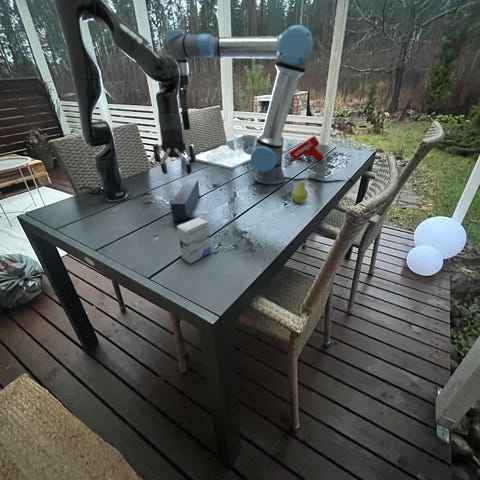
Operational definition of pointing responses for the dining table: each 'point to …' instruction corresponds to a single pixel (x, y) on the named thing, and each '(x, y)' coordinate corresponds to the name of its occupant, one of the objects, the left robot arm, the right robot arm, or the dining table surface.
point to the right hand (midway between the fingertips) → (186, 127)
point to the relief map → (224, 157)
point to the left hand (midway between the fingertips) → (177, 173)
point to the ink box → (194, 239)
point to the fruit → (300, 192)
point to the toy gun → (307, 149)
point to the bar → (185, 201)
